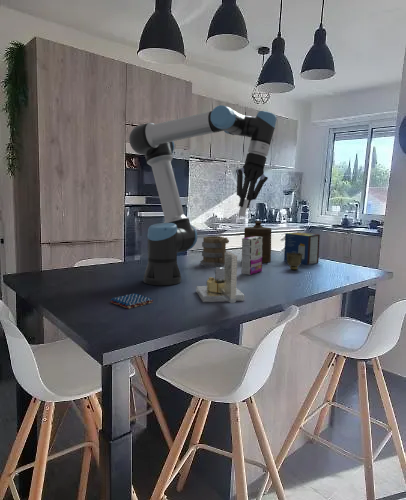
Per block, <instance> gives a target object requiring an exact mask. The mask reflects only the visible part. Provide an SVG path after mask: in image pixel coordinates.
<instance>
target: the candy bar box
mask: <svg viewBox="0 0 406 500" xmlns="http://www.w3.org/2000/svg"><path fill="white" fill-rule="evenodd" d="M262 245H263V237H257V236H254V237H248V238H244V237H243V238H241V274H242V275H249V276H251V275H255V274H258V273H261V272H263V263H262Z"/></svg>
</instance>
